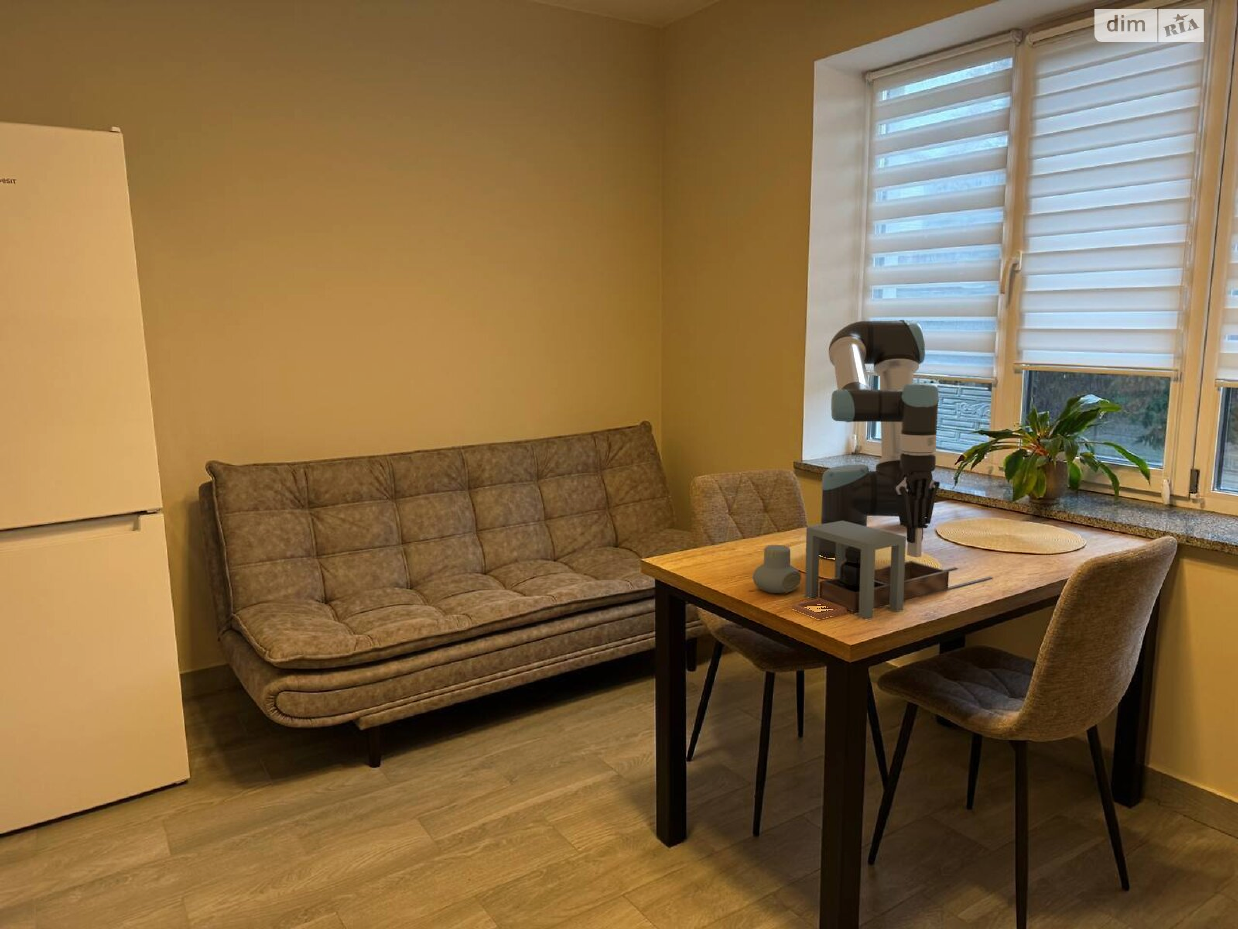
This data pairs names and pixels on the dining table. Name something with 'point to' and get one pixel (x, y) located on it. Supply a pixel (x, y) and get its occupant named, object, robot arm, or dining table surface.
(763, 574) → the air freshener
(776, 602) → the dining table surface
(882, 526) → the dining table surface
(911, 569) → the divided wooden tray
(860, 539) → the tunnel
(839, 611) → the frame
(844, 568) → the supplement bottle
